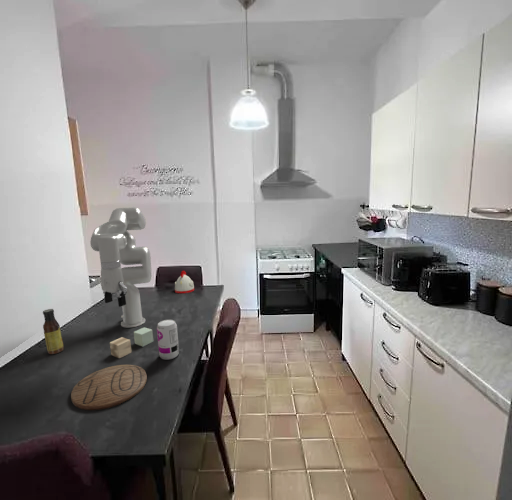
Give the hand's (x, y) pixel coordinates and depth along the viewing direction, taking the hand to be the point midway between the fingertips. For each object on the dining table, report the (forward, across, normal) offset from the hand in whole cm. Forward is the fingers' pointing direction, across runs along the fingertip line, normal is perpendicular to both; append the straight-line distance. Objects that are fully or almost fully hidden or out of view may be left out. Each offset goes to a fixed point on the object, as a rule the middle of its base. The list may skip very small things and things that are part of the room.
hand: (115, 303), depth 133 cm
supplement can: (+23, +20, +10) cm, 32 cm away
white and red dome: (+23, -44, +81) cm, 95 cm away
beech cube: (+23, 0, 0) cm, 23 cm away
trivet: (+24, +19, -17) cm, 35 cm away
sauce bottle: (+23, -29, -14) cm, 40 cm away
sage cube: (+23, 0, +12) cm, 26 cm away
